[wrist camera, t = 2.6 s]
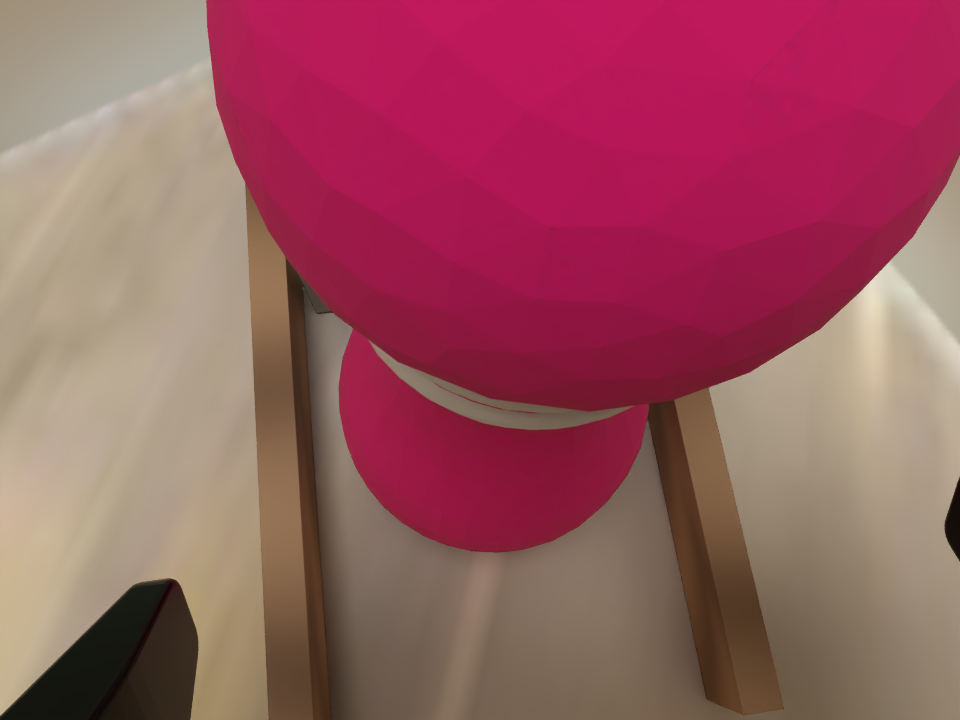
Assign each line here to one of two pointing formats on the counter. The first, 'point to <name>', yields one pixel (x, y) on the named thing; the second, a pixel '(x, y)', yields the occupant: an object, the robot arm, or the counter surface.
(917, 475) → the counter surface
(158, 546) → the counter surface
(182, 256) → the counter surface
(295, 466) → the lane
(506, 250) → the pepper mill
